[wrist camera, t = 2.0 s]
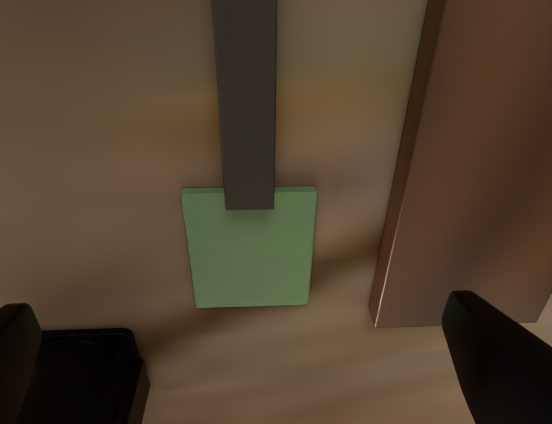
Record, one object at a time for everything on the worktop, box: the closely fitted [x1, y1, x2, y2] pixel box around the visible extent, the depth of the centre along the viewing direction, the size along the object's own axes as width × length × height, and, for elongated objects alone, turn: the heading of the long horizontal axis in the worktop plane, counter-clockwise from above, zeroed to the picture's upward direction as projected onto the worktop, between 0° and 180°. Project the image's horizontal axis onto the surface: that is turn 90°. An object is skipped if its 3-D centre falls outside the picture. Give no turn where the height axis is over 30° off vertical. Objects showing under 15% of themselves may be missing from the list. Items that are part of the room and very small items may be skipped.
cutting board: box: [369, 0, 552, 328], centre depth 17 cm, size 9×20×2 cm, turn 179°
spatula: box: [181, 0, 318, 308], centre depth 17 cm, size 17×6×2 cm, turn 179°
